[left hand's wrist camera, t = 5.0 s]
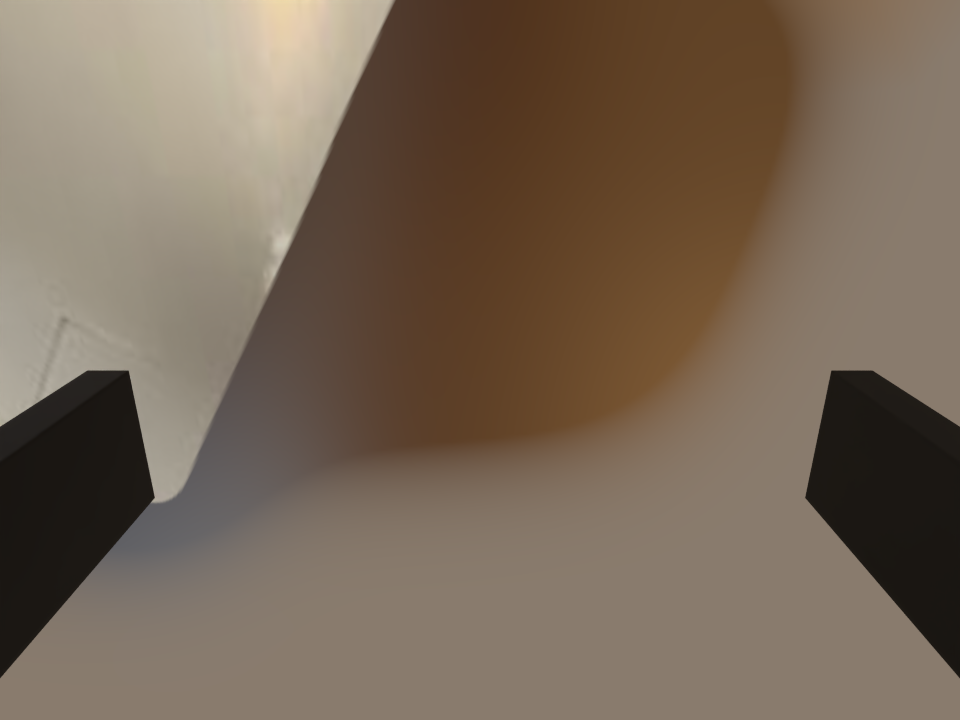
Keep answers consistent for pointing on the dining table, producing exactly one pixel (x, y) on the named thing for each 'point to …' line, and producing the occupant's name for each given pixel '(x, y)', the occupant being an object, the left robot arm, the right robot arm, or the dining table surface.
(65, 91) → the dining table surface
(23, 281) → the dining table surface
